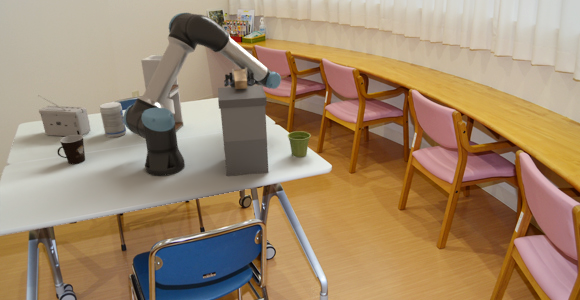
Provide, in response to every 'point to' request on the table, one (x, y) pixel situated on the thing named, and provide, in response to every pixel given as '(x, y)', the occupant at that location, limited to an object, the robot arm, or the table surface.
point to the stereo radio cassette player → (65, 120)
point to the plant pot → (299, 143)
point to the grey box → (244, 129)
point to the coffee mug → (73, 149)
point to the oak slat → (240, 79)
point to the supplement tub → (113, 119)
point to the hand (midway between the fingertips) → (239, 71)
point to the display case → (173, 96)
